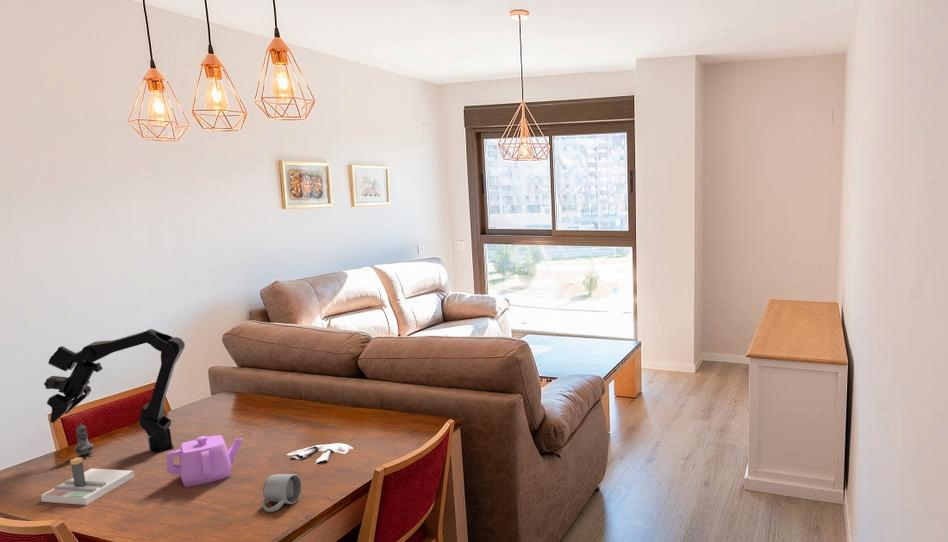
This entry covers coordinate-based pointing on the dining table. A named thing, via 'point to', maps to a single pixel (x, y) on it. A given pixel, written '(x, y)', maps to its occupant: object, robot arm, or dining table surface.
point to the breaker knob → (78, 472)
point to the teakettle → (203, 460)
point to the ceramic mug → (281, 490)
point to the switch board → (88, 487)
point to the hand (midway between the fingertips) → (58, 417)
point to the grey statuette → (83, 442)
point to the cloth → (325, 456)
